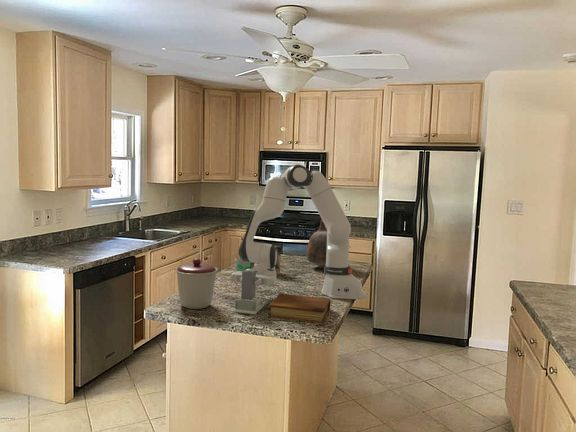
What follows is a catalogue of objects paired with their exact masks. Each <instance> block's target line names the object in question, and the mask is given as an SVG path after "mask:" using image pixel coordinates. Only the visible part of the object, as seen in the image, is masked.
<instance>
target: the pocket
mask: <svg viewBox="0 0 576 432" xmlns="http://www.w3.org/2000/svg"><path fill="white" fill-rule="evenodd" d="M262 308H264V304H263V298H262V297H259V298H258V299H257V300H253V299H252V300H248V299H241V297H240V298H235V299H234V308H233V311H232V312H235V313H243V314H250V315H251V314H252V315H257V314H258V313H259V312H260V311H261V310H262Z"/></svg>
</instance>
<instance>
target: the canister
mask: <svg viewBox="0 0 576 432" xmlns="http://www.w3.org/2000/svg"><path fill="white" fill-rule="evenodd" d="M217 271H219V269H218V268H217V267H216V266H214V265H212V264H210V263H204V262H202V260H201V259H200V258H194V259H193V260H192V263H191V262H189V263H184V264H181V265H179V266H177V267H176V268H175V272H176V276H177V277H176V279H177V288H178V296H179V303H180V304H181V306H182V307H183V308H187V309H189V310H190V309H191V310H201V309H205V308H208V307H209V306H210V305H211V303H212V301H213V297H214V291H215V284H216V275H217Z"/></svg>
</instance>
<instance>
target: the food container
mask: <svg viewBox="0 0 576 432" xmlns="http://www.w3.org/2000/svg"><path fill="white" fill-rule="evenodd" d="M234 262H235V264H236V265H235V266H236V271H244V270H245V269H251V268H253V267H255V262H244V261H243V260H242V259H241V258H240V257H238V256H236V257H235V259H234Z"/></svg>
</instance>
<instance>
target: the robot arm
mask: <svg viewBox="0 0 576 432" xmlns="http://www.w3.org/2000/svg"><path fill="white" fill-rule="evenodd" d="M300 188H304V189H305V190H306V191H307V192H308V195H309V197H310V198H311V200H312V202H313V205H314V207H315V209H316V211H317V212H318V215H319V216H320V218H321V220H322V221H323V222H324V224H325V226H326V228H327V252H326V265H325V268H324V269H323V270H324V272H323V273H324V280H323V285H322V289H321V294H322V295H325V296H327V297H329V298H330V299H341V300H342V299H343V300H344V299H346V300H364V299H366V298H367V292H366V291H364V290H363V284H362V282H361V281H360V280H359V279H358V278H357V277H356V276H355V275H353V267H350V266H349V257H350V256H349V255H350V254H349V253H350V234H351V231H352V226H351V224H350V221H349V220H348V217H347V215H346V213H345V212H344V210H343V208H342V206H341V204H340V202H339V200H338V198H337V196H336V194H335V193H334V191H333V189H332V187H331V185H330V183H329V181H328V180H327V179H326V177H325V176H324V174H323V173H322V172H321V171H319V170H312V171H311V170H310V169H309V168H307V167H306V166H304V165H302V164H294V165H292V166H289V167H288V168H287V169H286V170H284V171H283V172H282V173H281V175H280V177H279V176H273V177H270V178H269V179H268V180H267V182H266V184H265V187H264V191H263V194H262V195H263V196H262V201H261V203H260V205H258V207H257V208H255V209H253V212H252V214H251V216H250V219H249V221H248V224H247V227H246V230H245V232H244V236H243V237H242V240H241V243H240V245H239V248H238V251H237V255H238V258H241V259H242V260H243V261H244V262H255V263H257V264H256V265H254V267H253V268H251V270H256V280H254V281H253V285H256V286H257V287H259V286H268V287H274V286H276V284H277V274H276V271H275V266H276V264H277V261H278V251H277V249H276V247H275V246H274V244H271V243H266V242H265V243H264V242H257V241H254V239H255V236H256V232H257V230H258V227H259V226H260V224H261V223H263V222H265V221H268V220H273V219H276V218H278V217H279V216H281V215H282V214H283V213H284V212H285V211H284V210H285V207H286V202H287V201H286V200H287V196H288V193H289V191H295V190H299V189H300ZM255 263H254V264H255ZM230 281H232V282H235V283H239V284H242V271H237V270H236V271H234V272H232V273H231V274H230ZM256 286H255V287H256Z"/></svg>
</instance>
